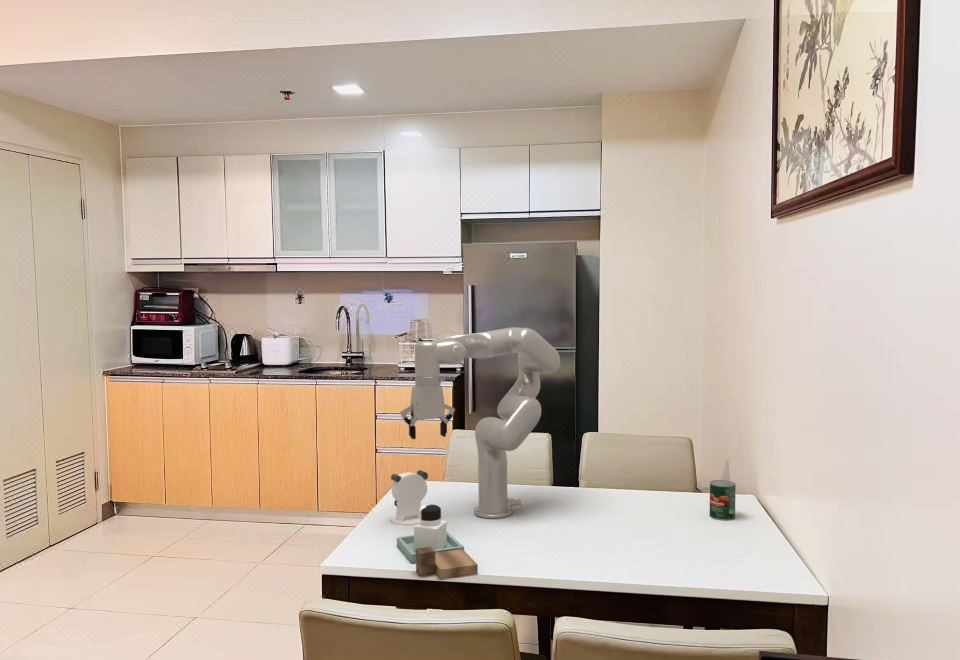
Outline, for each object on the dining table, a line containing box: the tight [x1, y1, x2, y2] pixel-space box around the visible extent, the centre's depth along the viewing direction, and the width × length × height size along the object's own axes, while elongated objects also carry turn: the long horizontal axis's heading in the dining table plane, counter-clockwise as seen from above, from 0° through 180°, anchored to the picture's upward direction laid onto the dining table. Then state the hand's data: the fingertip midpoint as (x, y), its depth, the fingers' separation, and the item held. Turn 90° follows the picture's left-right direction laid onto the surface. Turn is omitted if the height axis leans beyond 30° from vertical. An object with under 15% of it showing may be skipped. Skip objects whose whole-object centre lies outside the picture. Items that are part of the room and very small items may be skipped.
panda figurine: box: [390, 469, 429, 526], centre depth 230 cm, size 12×11×15 cm
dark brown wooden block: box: [415, 547, 436, 578], centre depth 186 cm, size 4×4×6 cm
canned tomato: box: [708, 479, 737, 521], centre depth 230 cm, size 8×8×11 cm
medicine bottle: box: [413, 504, 448, 551], centre depth 202 cm, size 7×7×12 cm
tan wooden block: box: [435, 549, 479, 580], centre depth 189 cm, size 10×12×3 cm
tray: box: [396, 531, 465, 565], centre depth 202 cm, size 15×15×2 cm
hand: (428, 437), depth 220 cm, fingers open, 9 cm apart
